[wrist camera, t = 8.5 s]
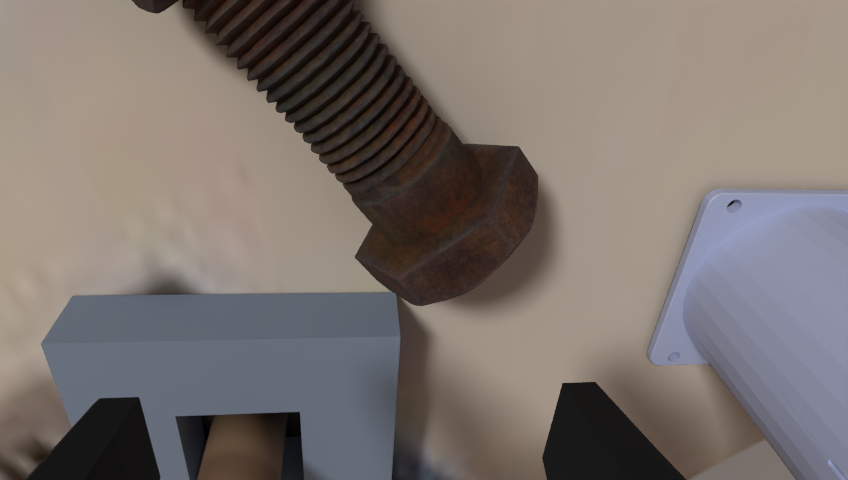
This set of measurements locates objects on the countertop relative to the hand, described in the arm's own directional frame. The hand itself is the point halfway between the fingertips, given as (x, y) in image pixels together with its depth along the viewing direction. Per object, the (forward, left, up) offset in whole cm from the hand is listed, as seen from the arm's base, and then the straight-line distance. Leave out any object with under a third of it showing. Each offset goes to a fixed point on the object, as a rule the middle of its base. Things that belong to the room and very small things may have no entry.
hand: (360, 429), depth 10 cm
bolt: (+2, -5, -10) cm, 12 cm away
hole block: (+4, +10, -10) cm, 15 cm away
